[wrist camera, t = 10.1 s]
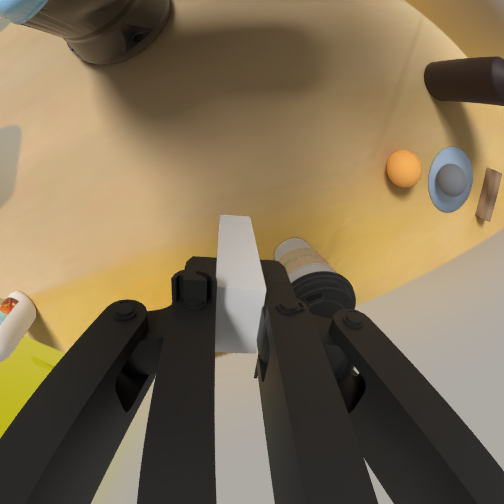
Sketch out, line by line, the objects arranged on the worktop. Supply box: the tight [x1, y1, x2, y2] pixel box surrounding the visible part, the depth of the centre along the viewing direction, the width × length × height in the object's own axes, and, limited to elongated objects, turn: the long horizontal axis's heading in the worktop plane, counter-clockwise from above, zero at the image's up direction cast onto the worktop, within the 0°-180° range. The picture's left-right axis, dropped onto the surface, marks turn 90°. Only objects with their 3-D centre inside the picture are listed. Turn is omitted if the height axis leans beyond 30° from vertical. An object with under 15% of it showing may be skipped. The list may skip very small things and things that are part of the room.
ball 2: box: [437, 164, 467, 197], centre depth 36 cm, size 6×6×6 cm
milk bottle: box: [0, 291, 36, 362], centre depth 34 cm, size 8×8×20 cm
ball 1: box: [387, 150, 422, 188], centre depth 35 cm, size 6×6×6 cm
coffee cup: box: [274, 238, 356, 319], centre depth 36 cm, size 9×9×15 cm
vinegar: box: [424, 57, 504, 106], centre depth 22 cm, size 7×7×20 cm
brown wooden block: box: [475, 168, 502, 222], centre depth 39 cm, size 10×2×3 cm, turn 173°
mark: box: [428, 147, 473, 212], centre depth 39 cm, size 12×12×1 cm
